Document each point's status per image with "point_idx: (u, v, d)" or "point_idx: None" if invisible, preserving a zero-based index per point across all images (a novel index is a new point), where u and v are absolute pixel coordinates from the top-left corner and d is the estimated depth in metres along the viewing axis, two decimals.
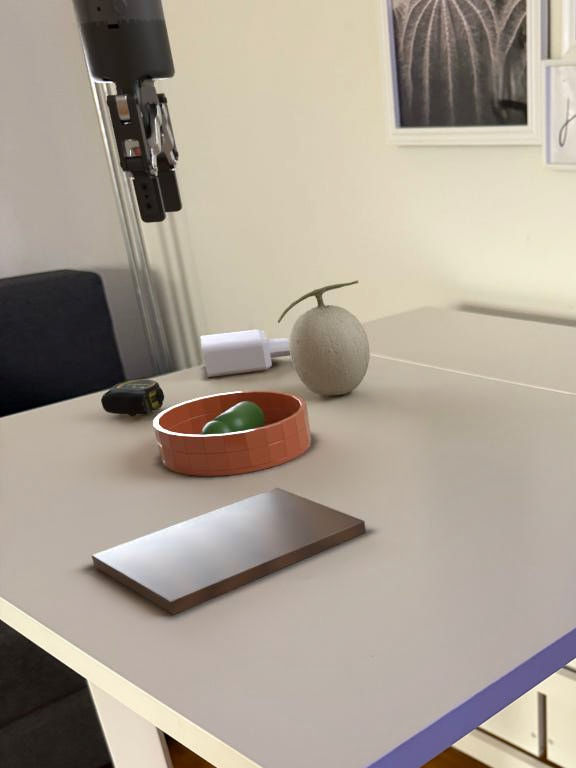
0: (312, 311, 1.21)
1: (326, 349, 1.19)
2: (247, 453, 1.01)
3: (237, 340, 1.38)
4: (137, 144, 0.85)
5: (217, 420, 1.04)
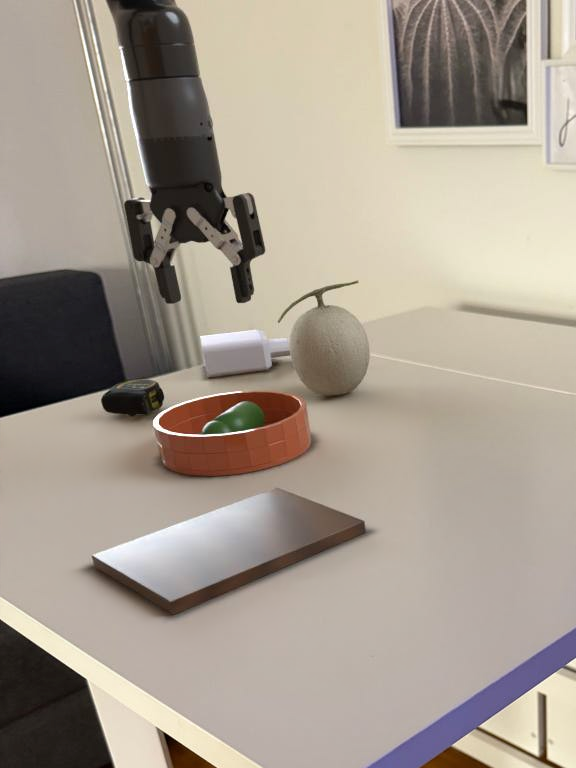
0: (312, 311, 1.21)
1: (326, 349, 1.19)
2: (247, 453, 1.01)
3: (237, 340, 1.38)
4: (229, 237, 0.96)
5: (217, 420, 1.04)
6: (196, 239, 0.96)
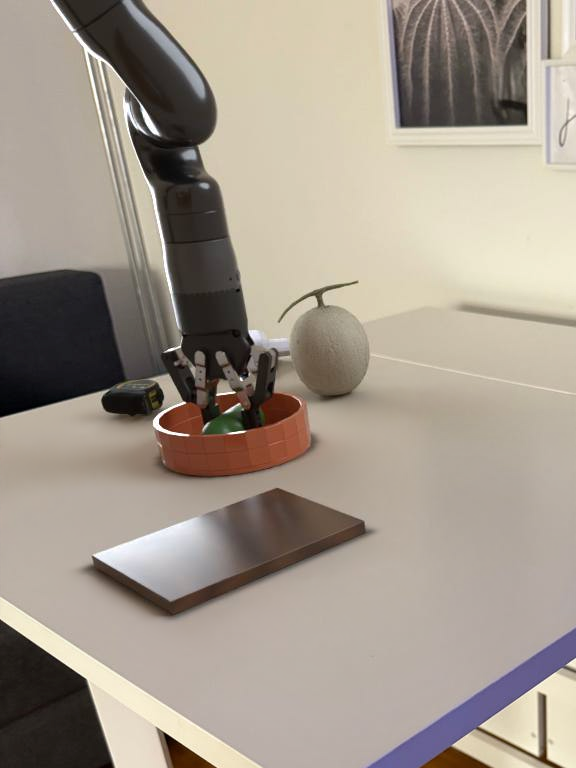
0: (312, 311, 1.21)
1: (326, 349, 1.19)
2: (247, 453, 1.01)
3: None
4: (247, 382, 1.04)
5: (217, 420, 1.04)
6: (223, 377, 1.04)
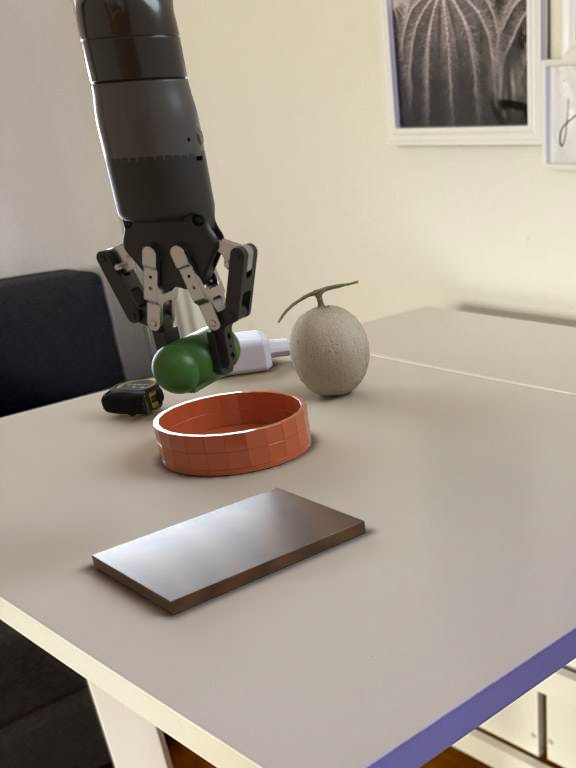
0: (312, 311, 1.21)
1: (326, 349, 1.19)
2: (247, 453, 1.01)
3: None
4: (214, 293, 0.76)
5: (174, 344, 0.76)
6: (182, 285, 0.76)
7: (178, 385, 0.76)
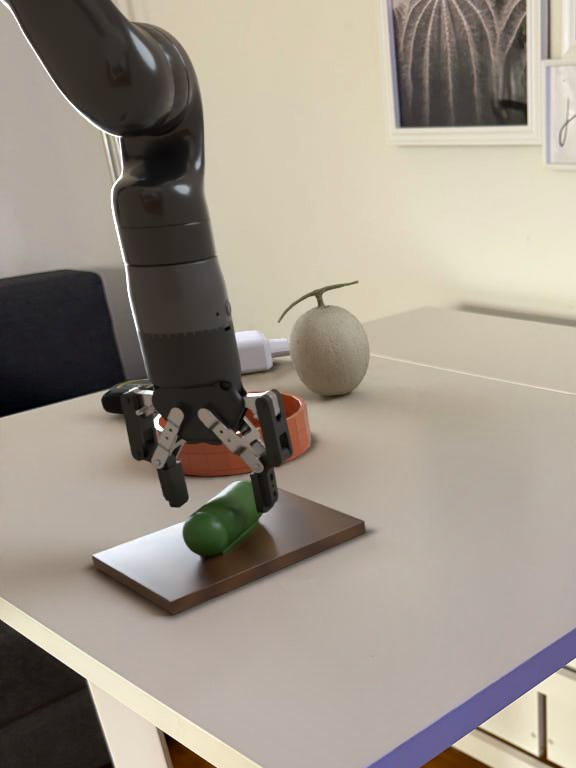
0: (312, 311, 1.21)
1: (326, 349, 1.19)
2: None
3: (238, 341, 1.38)
4: (250, 438, 0.78)
5: (204, 511, 0.79)
6: (209, 441, 0.78)
7: (208, 551, 0.79)
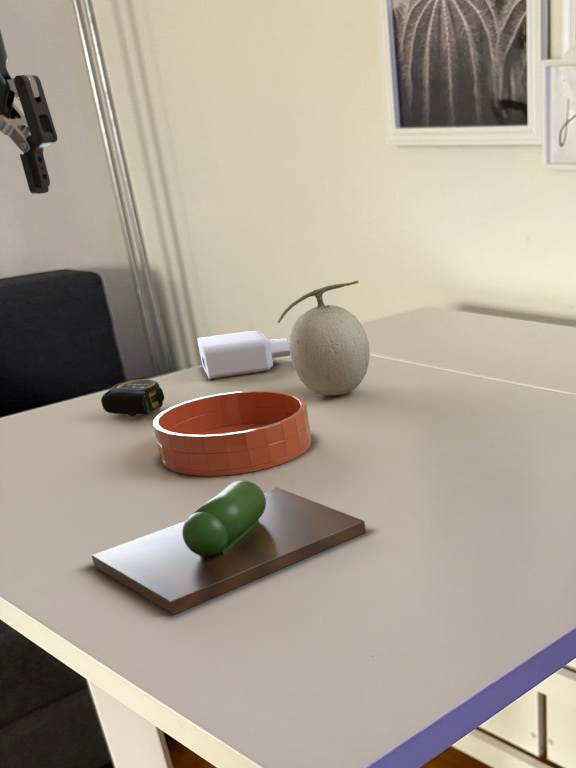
0: (312, 311, 1.21)
1: (326, 349, 1.19)
2: (247, 453, 1.01)
3: (238, 341, 1.37)
4: (18, 122, 0.93)
5: (204, 511, 0.79)
6: None
7: (208, 551, 0.79)
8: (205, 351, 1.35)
